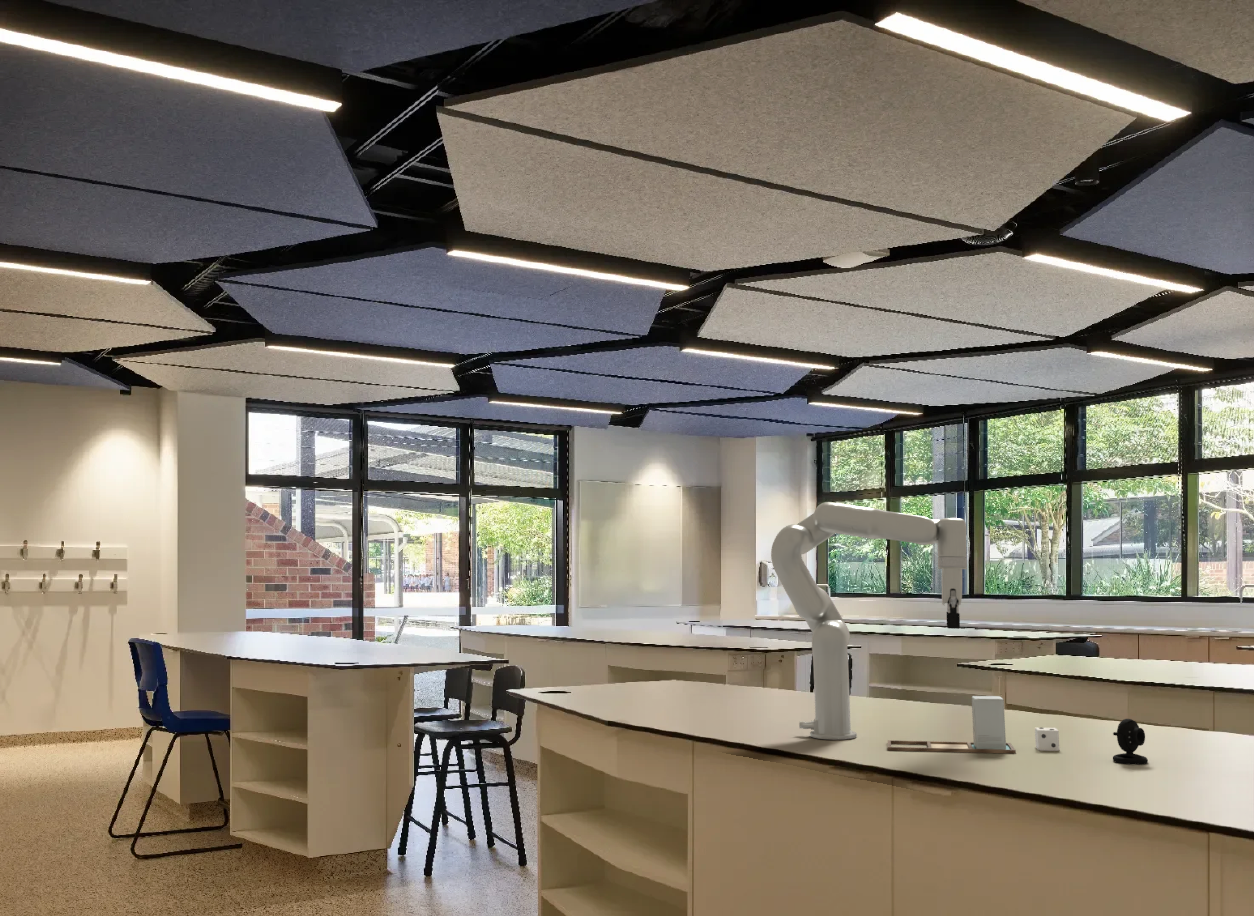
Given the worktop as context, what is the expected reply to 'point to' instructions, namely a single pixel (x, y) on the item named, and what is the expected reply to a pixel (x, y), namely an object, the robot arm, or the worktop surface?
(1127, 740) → the webcam
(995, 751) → the board
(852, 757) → the worktop surface
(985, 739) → the supplement box
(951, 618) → the robot arm
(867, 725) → the worktop surface
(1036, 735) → the die
